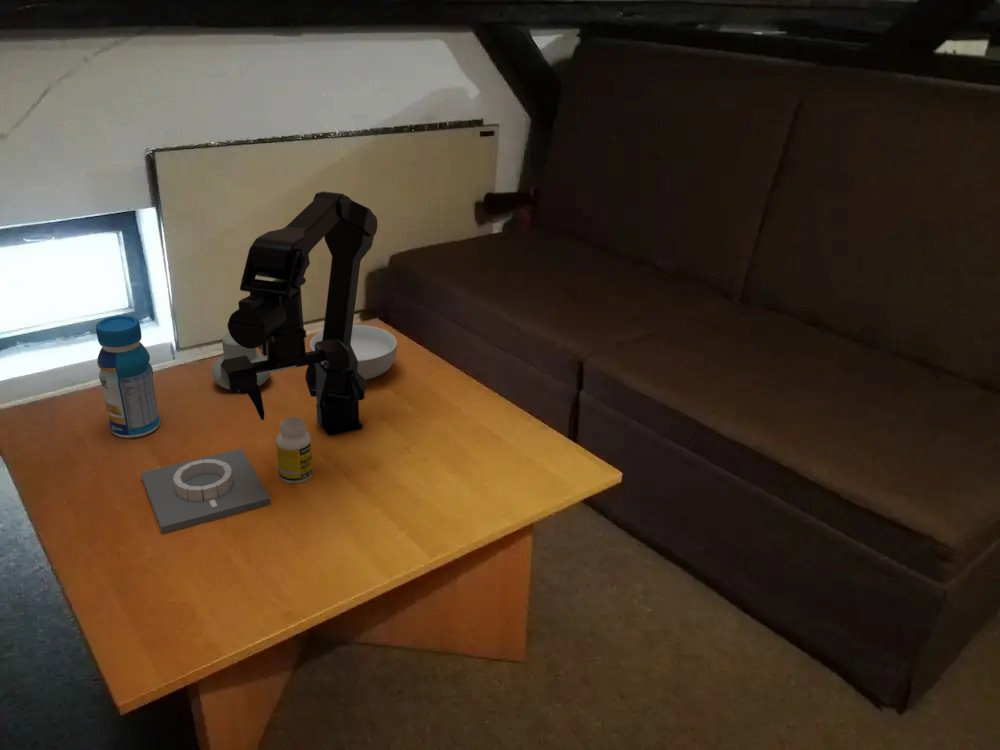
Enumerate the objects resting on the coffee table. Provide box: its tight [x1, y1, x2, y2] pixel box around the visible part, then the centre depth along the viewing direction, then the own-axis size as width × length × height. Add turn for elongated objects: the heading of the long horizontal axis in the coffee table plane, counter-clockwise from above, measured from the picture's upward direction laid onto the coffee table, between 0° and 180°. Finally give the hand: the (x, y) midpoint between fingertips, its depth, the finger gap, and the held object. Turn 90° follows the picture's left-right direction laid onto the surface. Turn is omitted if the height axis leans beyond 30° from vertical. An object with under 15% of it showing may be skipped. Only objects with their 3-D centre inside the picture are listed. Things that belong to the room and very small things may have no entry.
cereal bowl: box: [309, 324, 398, 381], centre depth 172 cm, size 17×17×7 cm
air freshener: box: [211, 333, 271, 391], centre depth 166 cm, size 11×8×10 cm
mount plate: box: [140, 448, 272, 535], centre depth 135 cm, size 16×16×3 cm
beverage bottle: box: [95, 315, 161, 439], centre depth 148 cm, size 8×8×20 cm
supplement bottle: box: [275, 416, 314, 484], centre depth 139 cm, size 5×5×10 cm
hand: (291, 412), depth 136 cm, fingers open, 9 cm apart
